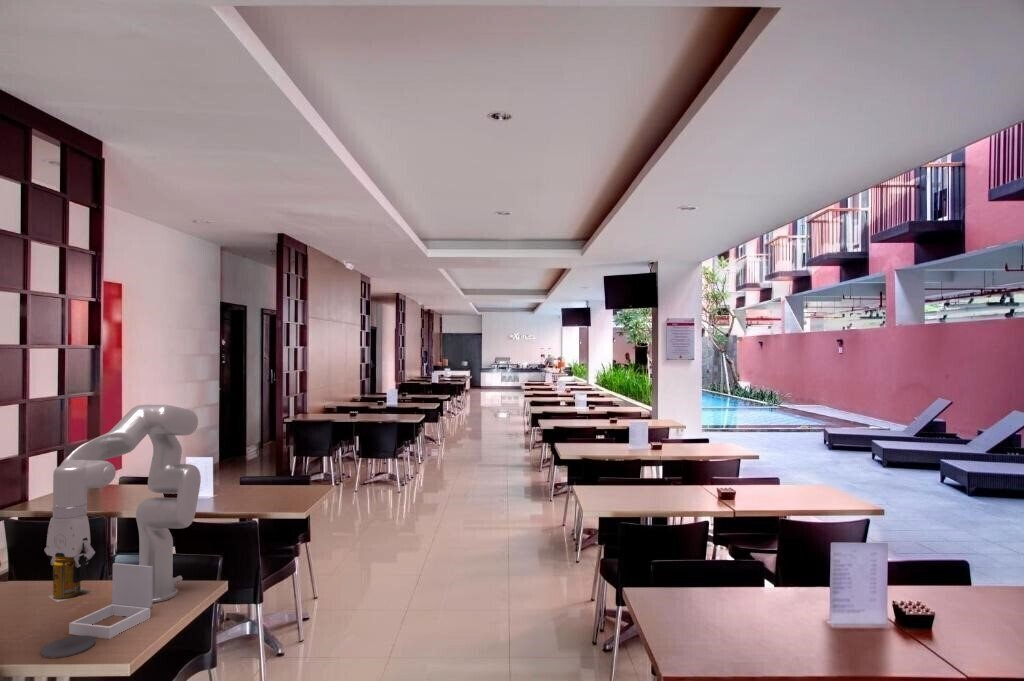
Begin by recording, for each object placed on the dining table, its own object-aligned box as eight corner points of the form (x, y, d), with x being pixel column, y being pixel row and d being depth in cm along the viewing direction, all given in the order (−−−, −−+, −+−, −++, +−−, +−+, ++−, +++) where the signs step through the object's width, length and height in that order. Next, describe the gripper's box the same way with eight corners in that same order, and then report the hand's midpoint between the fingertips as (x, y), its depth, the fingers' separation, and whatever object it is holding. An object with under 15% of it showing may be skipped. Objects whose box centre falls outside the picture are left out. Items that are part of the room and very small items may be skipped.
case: (114, 613, 200) (115, 563, 200) (152, 617, 197) (152, 566, 197) (69, 634, 185) (69, 580, 185) (109, 638, 182) (109, 583, 182)
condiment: (47, 596, 175) (48, 550, 176) (83, 587, 182) (84, 543, 182) (57, 603, 171) (57, 556, 171) (93, 593, 177) (94, 548, 178)
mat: (70, 636, 183) (70, 633, 183) (106, 640, 180) (106, 637, 180) (29, 655, 172) (29, 652, 172) (66, 660, 169) (66, 657, 169)
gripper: (30, 513, 175) (30, 582, 175) (84, 517, 171) (83, 587, 171) (56, 507, 183) (55, 573, 182) (108, 510, 178) (107, 577, 178)
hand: (69, 579), depth 176 cm, fingers closed on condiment, 6 cm apart
